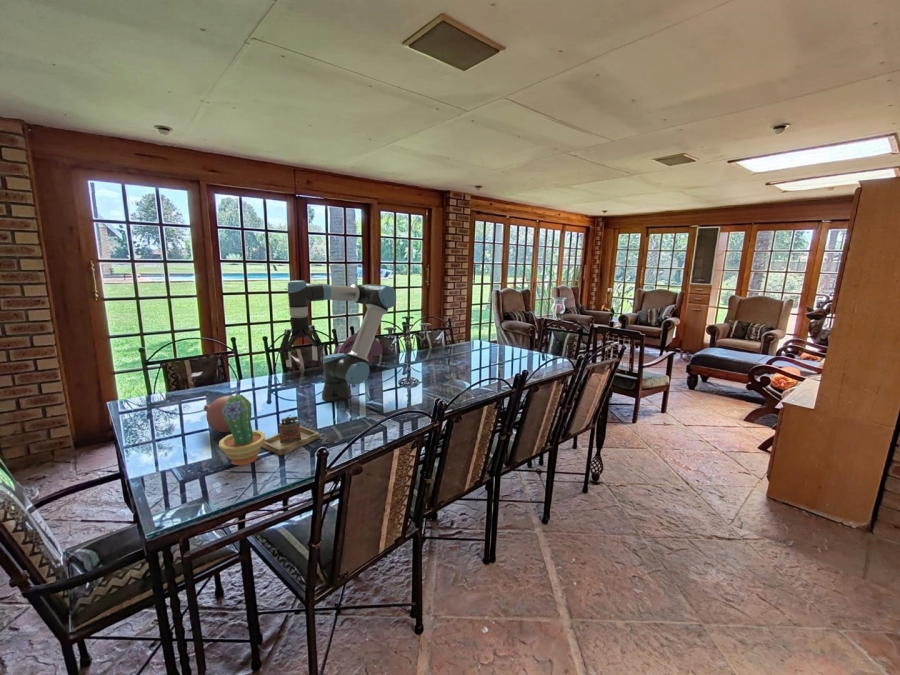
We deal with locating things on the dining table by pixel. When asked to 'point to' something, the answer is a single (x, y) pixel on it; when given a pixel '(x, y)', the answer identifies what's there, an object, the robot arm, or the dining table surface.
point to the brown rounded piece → (217, 415)
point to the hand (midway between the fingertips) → (302, 363)
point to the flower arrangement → (348, 344)
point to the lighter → (289, 430)
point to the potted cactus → (240, 432)
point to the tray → (282, 448)
